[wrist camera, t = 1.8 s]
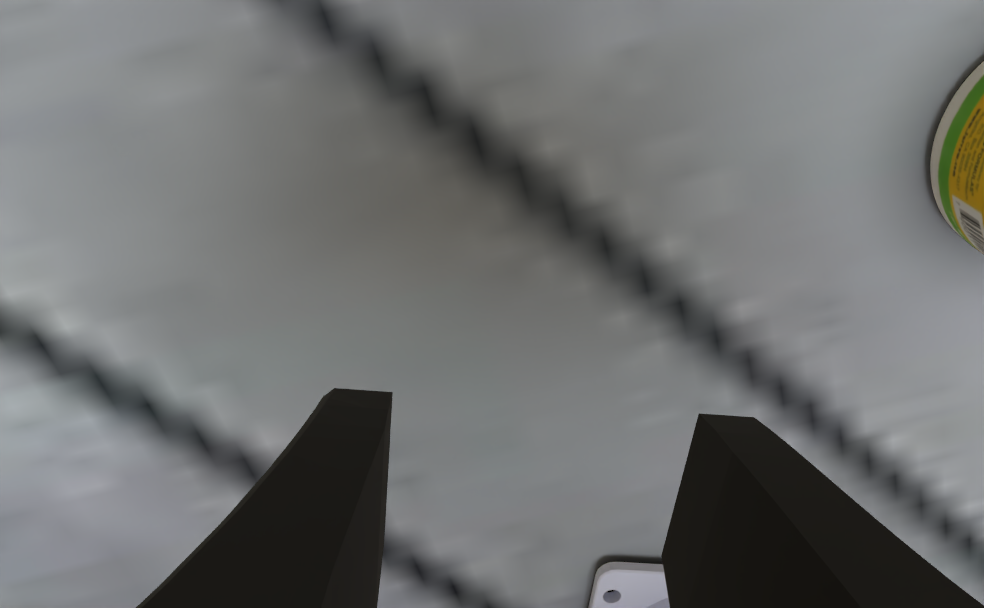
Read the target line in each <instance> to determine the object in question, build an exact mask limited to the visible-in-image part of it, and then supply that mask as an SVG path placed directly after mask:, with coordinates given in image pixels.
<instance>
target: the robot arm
mask: <svg viewBox="0 0 984 608" xmlns="http://www.w3.org/2000/svg"><path fill="white" fill-rule="evenodd" d="M391 409H392V392H381V391H366V390H352V389H338V388H334V389H333V390H331V391H330V392H329V393H328V394H326V395H325V396H324V397H323V398H322V399H321V401H320V402H319V404H318V405H317V407H316V408H315V410H314V411H313V413H312V414H311V415H310V417H309V418H308V420H307V421H306V422H305V424H304V425H303V426H302V428H301V429H300V430H299V432H298V433H297V434H296V436H295V437H294V438H293V439H292V441H291V442H290V443H289V445H288V446H287V447H286V448H285V449H284V451H283V452H282V453H281V454H280V456H279V457H278V458H277V459H276V461H275V462H274V463H273V464H272V466H271V467H270V468H269V469H268V470H267V471H266V473H265V474H264V475H263V476H262V477H261V478H260V479H259V481H258V482H257V483H256V484H255V485H254V486H253V487H252V489H251V490H250V491H249V492H248V493H247V494H246V496H245V497H244V498H243V499H242V500H241V501H240V502H239V504H238V505H237V506H236V507H235V508H234V509H233V510H232V512H231V513H230V514H229V515H228V516H227V517H226V518H225V519H224V520H223V521H222V522H221V524H220V525H219V526H218V527H217V528H216V529H215V530H214V531H213V532H212V533H211V534H210V535H209V536H208V537H207V538H206V539H205V540H204V541H203V542H202V543H201V544H200V545H199V546H198V547H197V548H196V549H195V550H194V551H193V552H192V553H191V554H190V555H189V556H188V557H187V558H186V559H185V560H184V561H183V562H182V563H181V564H180V565H179V566H178V567H177V568H176V569H175V570H174V571H173V572H172V574H171V575H170V576H169V577H168V578H167V579H166V580H165V581H164V582H163V583H162V584H161V585H160V586H159V587H157V588H156V589H155V590H154V591H153V592H152V593H151V594H150V595H149V596H148V597H147V598H146V599H145V600H144V601H143V602H142V603H141V604H139V605H138V606H137V607H136V608H377V602H378V593H379V584H380V575H381V565H382V556H383V547H384V535H385V517H386V499H387V481H388V463H389V445H390V427H391ZM662 562H663V564H648V563H630V562H609V563H606V564H604V565H602V566H601V567H600V568H599V569H598V570H597V572H596V575H595V580H594V584H593V589H592V594H591V598H590V603H589V607H588V608H984V606H983V605H982V604H981V603H979V602H978V601H977V600H976V599H974V598H973V597H972V596H970V595H969V594H968V593H966V592H965V591H964V590H962V589H961V588H960V587H958V586H957V585H956V584H955V583H953V582H952V581H951V580H950V579H948V578H947V577H946V576H945V575H943V574H942V573H941V572H940V571H938V570H937V569H936V568H935V567H933V566H932V565H931V564H930V563H928V562H927V561H926V560H925V559H923V558H922V557H921V556H920V555H919V554H917V553H916V552H915V551H914V550H912V549H911V548H910V547H909V546H908V545H906V544H905V543H904V542H903V541H901V540H900V539H899V538H898V537H897V536H895V535H894V534H893V533H892V532H891V531H890V530H888V529H887V528H886V527H885V526H884V525H882V524H881V523H880V522H879V521H878V520H876V519H875V518H874V517H873V516H872V515H870V514H869V513H868V512H867V511H866V510H865V509H863V508H862V507H861V506H860V505H859V504H857V503H856V502H855V501H854V500H853V499H852V498H850V497H849V496H848V495H847V494H846V493H845V492H843V491H842V490H841V489H840V488H839V487H838V486H836V485H835V484H834V483H833V482H832V481H831V480H829V479H828V478H827V477H826V476H825V475H824V474H822V473H821V472H820V471H819V470H818V469H817V468H816V467H814V466H813V465H812V464H811V463H810V462H809V461H807V460H806V459H805V458H804V457H803V456H801V455H800V454H799V453H798V452H797V451H796V450H794V449H793V448H792V447H791V446H790V445H788V444H787V443H786V442H785V441H784V440H782V439H781V438H780V437H779V436H778V435H776V434H775V433H774V432H773V431H771V430H770V429H769V428H767V427H766V426H765V425H763V424H762V423H761V422H759V421H758V420H757V419H755V418H754V417H740V416H725V415H711V414H699V415H698V419H697V423H696V427H695V430H694V434H693V438H692V442H691V446H690V449H689V453H688V457H687V461H686V465H685V468H684V472H683V476H682V480H681V484H680V487H679V491H678V495H677V499H676V503H675V506H674V510H673V514H672V518H671V522H670V525H669V529H668V533H667V537H666V541H665V544H664V548H663V552H662ZM609 590H615V591H614V592H609V593H608V592H607V591H609Z"/></svg>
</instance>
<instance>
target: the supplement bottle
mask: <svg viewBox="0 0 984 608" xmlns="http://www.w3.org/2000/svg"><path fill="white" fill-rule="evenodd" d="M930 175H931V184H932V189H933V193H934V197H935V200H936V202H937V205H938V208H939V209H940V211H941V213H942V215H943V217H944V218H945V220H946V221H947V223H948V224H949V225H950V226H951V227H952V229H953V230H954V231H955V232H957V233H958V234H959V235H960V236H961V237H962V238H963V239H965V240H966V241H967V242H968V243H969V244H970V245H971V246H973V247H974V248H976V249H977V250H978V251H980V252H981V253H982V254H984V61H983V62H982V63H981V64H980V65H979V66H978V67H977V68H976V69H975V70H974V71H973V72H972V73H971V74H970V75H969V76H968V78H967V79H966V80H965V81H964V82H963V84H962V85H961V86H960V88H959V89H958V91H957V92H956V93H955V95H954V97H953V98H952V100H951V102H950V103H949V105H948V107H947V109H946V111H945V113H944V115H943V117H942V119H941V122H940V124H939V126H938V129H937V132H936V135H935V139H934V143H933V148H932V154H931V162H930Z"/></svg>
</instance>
